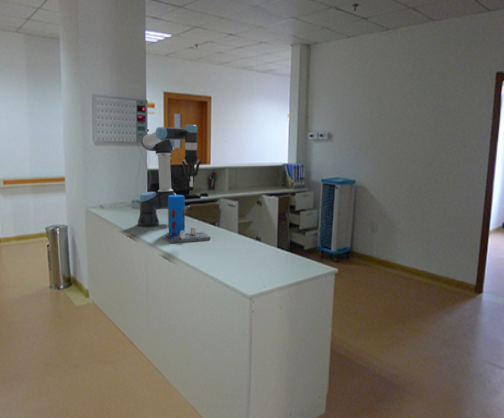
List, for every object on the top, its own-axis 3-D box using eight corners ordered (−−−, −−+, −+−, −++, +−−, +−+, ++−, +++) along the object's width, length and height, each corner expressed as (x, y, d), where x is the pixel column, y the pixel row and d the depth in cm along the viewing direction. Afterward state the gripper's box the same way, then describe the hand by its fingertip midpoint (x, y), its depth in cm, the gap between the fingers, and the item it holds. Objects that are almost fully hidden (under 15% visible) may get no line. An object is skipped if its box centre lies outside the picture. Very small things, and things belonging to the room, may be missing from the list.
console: (164, 238, 255) (164, 234, 255) (203, 234, 266) (203, 231, 266) (169, 243, 242) (169, 240, 242) (210, 240, 253) (210, 237, 253)
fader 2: (190, 233, 260) (190, 226, 260) (194, 232, 261) (194, 226, 261) (192, 234, 257) (192, 227, 257) (195, 234, 258) (195, 227, 258)
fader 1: (179, 237, 249) (179, 230, 248) (183, 237, 250) (183, 230, 249) (181, 238, 246) (181, 231, 245) (185, 238, 247) (185, 231, 246)
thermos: (181, 235, 264) (180, 197, 260) (165, 233, 267) (165, 196, 262) (187, 231, 275) (186, 195, 271) (172, 230, 277) (171, 194, 273)
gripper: (182, 149, 248) (182, 187, 252) (202, 149, 253) (202, 187, 257) (179, 149, 255) (179, 186, 259) (199, 149, 260) (199, 185, 264)
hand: (191, 186), depth 258 cm, fingers closed
